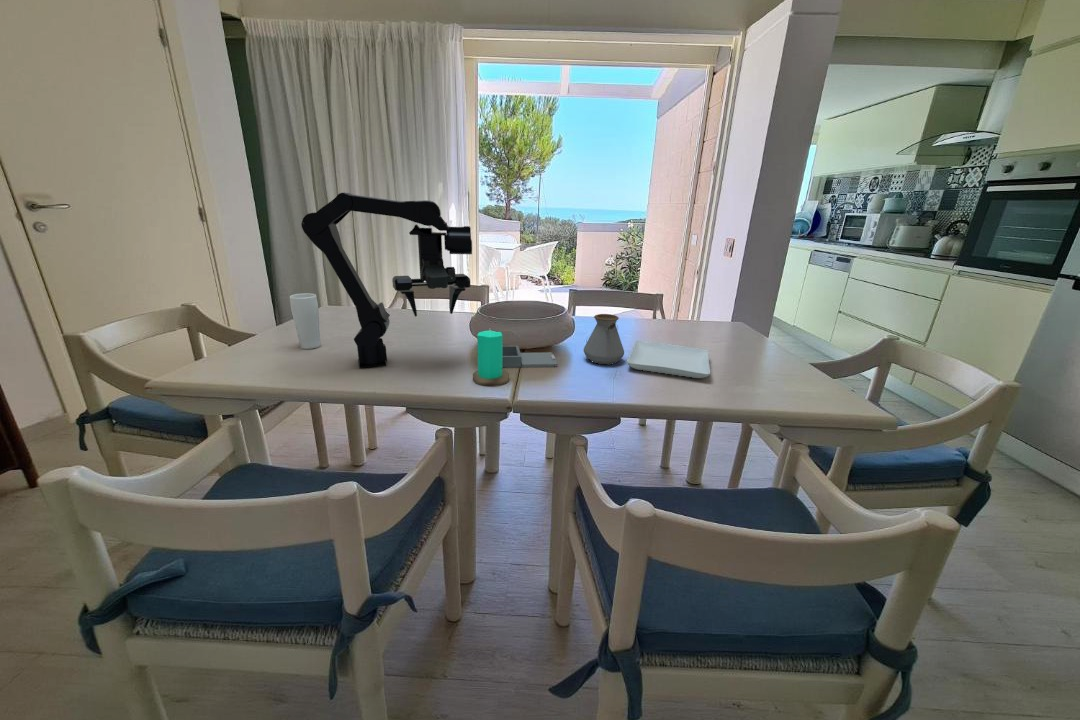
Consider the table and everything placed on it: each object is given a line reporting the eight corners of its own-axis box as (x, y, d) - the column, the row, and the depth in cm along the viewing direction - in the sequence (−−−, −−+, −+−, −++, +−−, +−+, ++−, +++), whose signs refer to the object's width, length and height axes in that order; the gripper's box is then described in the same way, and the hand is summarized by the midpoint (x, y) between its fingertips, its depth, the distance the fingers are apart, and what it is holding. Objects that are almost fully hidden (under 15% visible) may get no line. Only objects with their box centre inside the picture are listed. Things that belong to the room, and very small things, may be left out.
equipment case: (485, 367, 114) (485, 357, 113) (484, 355, 123) (484, 345, 122) (557, 366, 116) (557, 356, 115) (551, 355, 125) (552, 345, 124)
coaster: (479, 388, 101) (479, 383, 101) (468, 375, 109) (468, 370, 108) (514, 383, 105) (514, 378, 104) (502, 370, 112) (502, 366, 112)
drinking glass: (300, 344, 127) (291, 293, 122) (325, 342, 129) (318, 292, 124) (295, 351, 121) (286, 298, 116) (321, 349, 123) (314, 297, 118)
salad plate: (709, 385, 109) (711, 373, 107) (624, 373, 115) (626, 361, 114) (706, 359, 128) (708, 348, 126) (634, 350, 134) (635, 339, 133)
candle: (494, 380, 102) (494, 332, 98) (473, 376, 105) (472, 328, 101) (506, 372, 108) (507, 326, 104) (486, 368, 110) (486, 323, 106)
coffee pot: (581, 352, 128) (585, 303, 123) (620, 354, 128) (625, 305, 123) (585, 380, 108) (590, 322, 103) (631, 382, 108) (638, 324, 103)
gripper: (396, 258, 97) (401, 325, 102) (476, 257, 104) (477, 319, 109) (389, 253, 106) (394, 314, 111) (463, 252, 114) (465, 309, 119)
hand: (433, 314), depth 112 cm, fingers open, 9 cm apart
